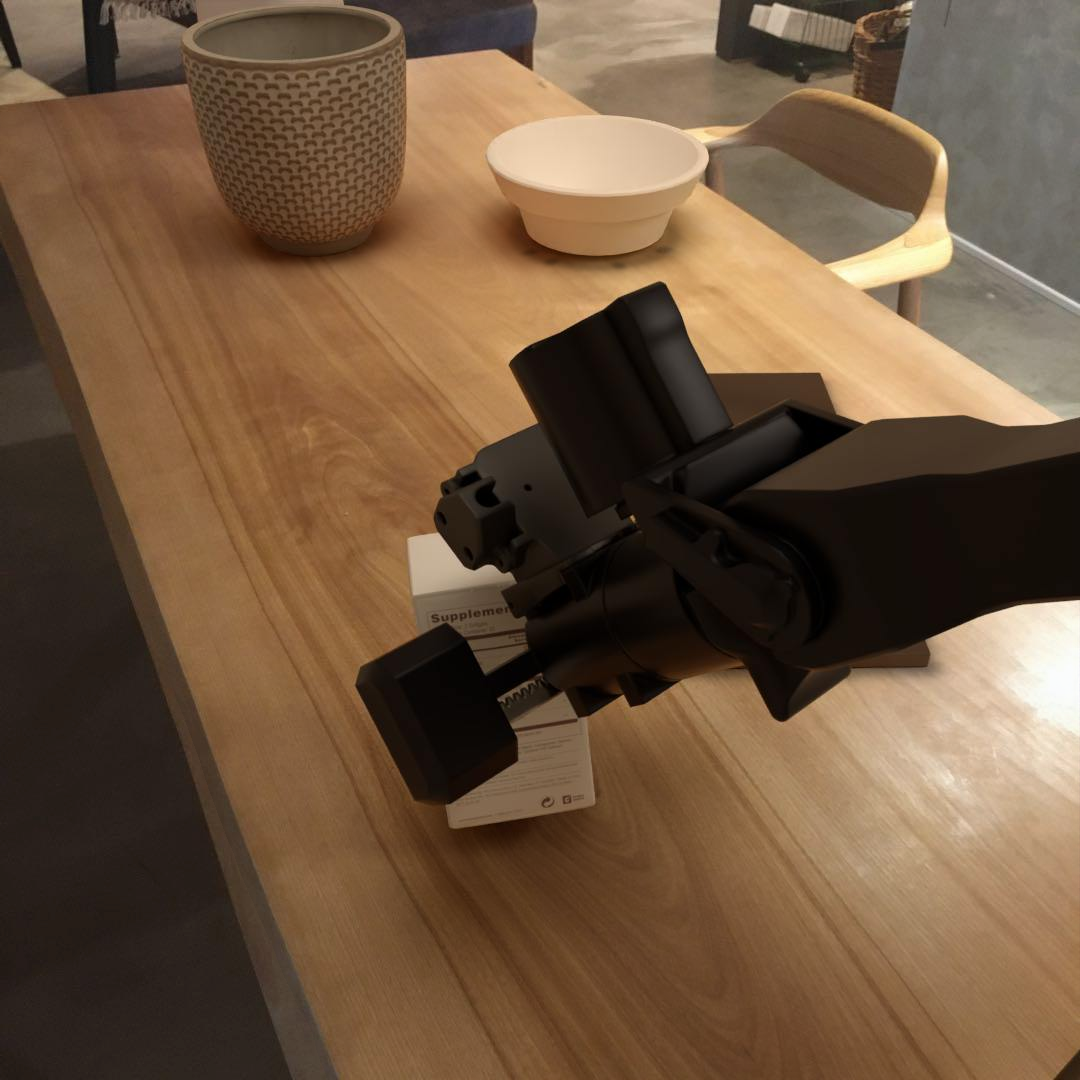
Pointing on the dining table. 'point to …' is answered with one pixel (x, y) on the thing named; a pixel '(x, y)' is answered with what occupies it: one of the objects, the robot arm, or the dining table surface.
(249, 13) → the planter
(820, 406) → the board
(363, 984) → the dining table surface
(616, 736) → the dining table surface
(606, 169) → the bowl
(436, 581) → the white packaging box
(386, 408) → the dining table surface
